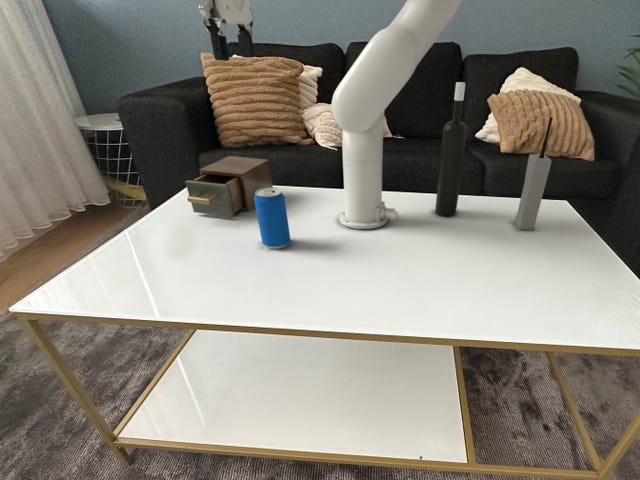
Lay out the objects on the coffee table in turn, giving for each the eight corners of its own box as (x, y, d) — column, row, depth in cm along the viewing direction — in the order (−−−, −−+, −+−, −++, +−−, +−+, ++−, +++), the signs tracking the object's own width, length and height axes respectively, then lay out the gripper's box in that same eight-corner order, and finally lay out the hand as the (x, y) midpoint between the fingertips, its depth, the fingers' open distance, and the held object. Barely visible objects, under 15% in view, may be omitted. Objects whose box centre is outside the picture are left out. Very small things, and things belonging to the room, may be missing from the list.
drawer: (223, 223, 102) (215, 191, 97) (183, 218, 104) (174, 186, 99) (258, 200, 115) (252, 170, 110) (222, 195, 117) (215, 166, 112)
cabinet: (249, 211, 110) (241, 174, 104) (208, 206, 113) (199, 169, 107) (274, 194, 121) (268, 159, 115) (236, 189, 124) (229, 155, 117)
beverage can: (294, 239, 97) (287, 187, 89) (286, 251, 92) (278, 197, 85) (267, 237, 98) (258, 186, 90) (258, 249, 93) (248, 195, 85)
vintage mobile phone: (527, 222, 108) (554, 114, 91) (533, 230, 104) (563, 118, 88) (513, 222, 108) (538, 114, 91) (519, 230, 104) (546, 118, 88)
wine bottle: (459, 212, 113) (477, 82, 93) (450, 218, 109) (467, 84, 89) (440, 208, 115) (454, 80, 95) (431, 214, 111) (444, 82, 92)
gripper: (207, -61, 69) (227, 63, 80) (259, -48, 82) (270, 57, 93) (169, -62, 71) (195, 60, 82) (226, -49, 83) (241, 55, 95)
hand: (235, 58), depth 87 cm, fingers open, 9 cm apart
